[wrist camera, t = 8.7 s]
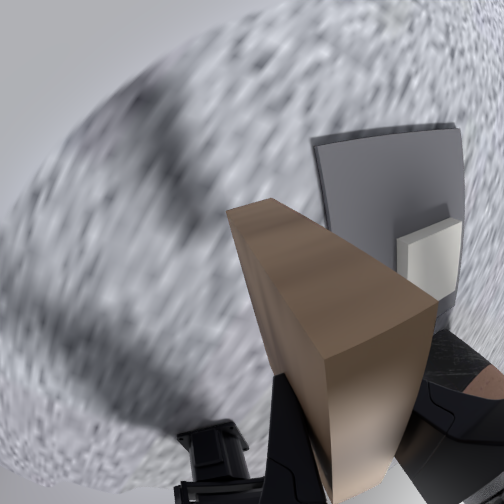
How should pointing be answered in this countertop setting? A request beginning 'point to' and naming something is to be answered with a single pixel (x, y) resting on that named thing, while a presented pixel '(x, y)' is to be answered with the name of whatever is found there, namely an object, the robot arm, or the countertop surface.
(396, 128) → the countertop surface
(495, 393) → the travel mug
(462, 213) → the mat
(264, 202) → the flat wooden plank
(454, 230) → the tile
